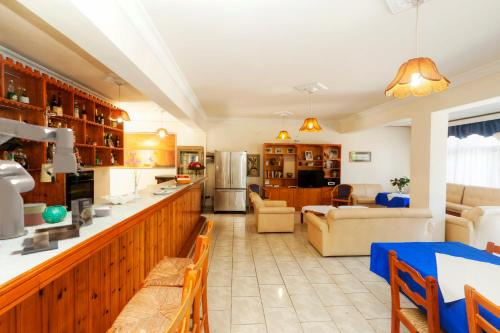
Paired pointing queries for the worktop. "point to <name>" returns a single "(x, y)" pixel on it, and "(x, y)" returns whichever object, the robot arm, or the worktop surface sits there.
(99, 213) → the ramekin
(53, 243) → the mat
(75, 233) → the crate
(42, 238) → the maple block
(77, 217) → the coffee box
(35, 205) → the canned food
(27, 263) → the worktop surface
